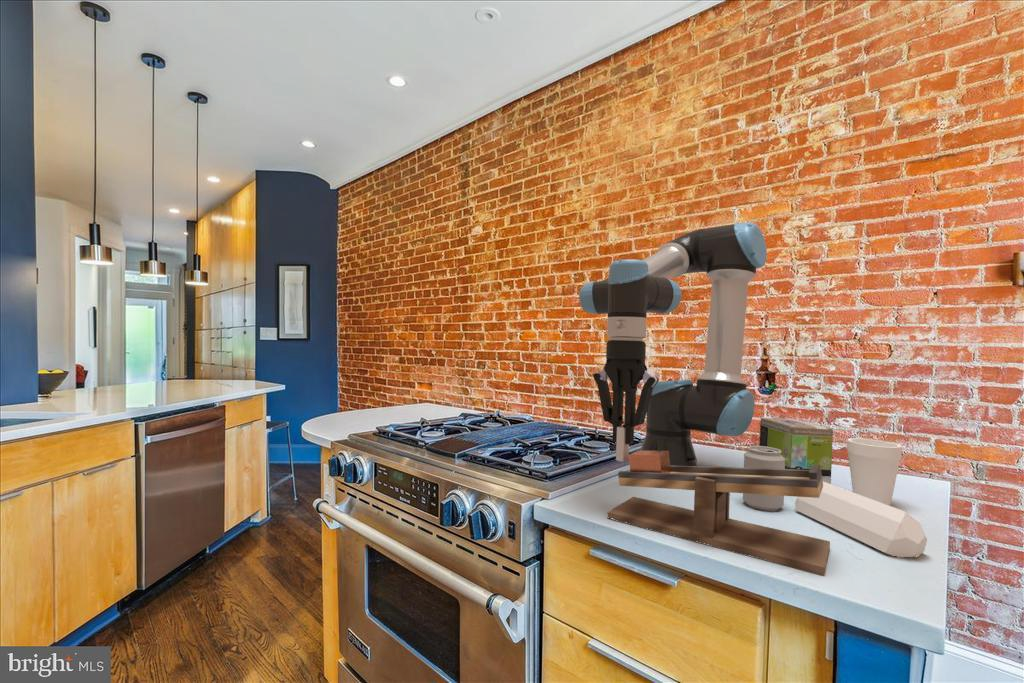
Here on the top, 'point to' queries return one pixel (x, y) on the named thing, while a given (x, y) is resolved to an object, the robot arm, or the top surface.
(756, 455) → the can
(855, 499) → the crystal
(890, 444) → the foam cup
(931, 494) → the top surface
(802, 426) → the tea box
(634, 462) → the terracotta wooden block
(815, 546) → the stand
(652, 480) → the beam
